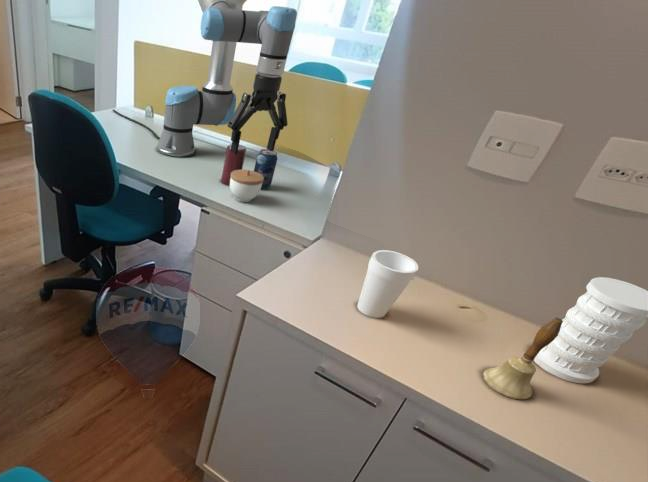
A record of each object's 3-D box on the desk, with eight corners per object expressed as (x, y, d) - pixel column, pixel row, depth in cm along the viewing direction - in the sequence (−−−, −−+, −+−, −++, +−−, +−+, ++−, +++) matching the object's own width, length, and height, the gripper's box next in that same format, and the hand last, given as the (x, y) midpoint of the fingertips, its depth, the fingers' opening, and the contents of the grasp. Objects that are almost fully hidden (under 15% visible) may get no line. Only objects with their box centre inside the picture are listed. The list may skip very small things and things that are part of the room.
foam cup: (345, 296, 107) (366, 248, 99) (383, 299, 107) (407, 251, 99) (358, 320, 100) (382, 271, 92) (398, 323, 100) (426, 274, 92)
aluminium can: (217, 179, 160) (223, 144, 152) (233, 178, 163) (240, 143, 155) (226, 186, 156) (233, 150, 148) (242, 185, 158) (250, 149, 150)
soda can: (255, 190, 155) (264, 155, 147) (247, 183, 160) (254, 148, 152) (273, 190, 157) (282, 155, 149) (264, 182, 162) (272, 148, 154)
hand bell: (487, 391, 85) (540, 327, 75) (479, 364, 91) (527, 301, 81) (536, 405, 83) (597, 341, 73) (524, 376, 89) (579, 313, 79)
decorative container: (609, 383, 89) (685, 312, 78) (558, 383, 88) (627, 312, 77) (564, 345, 98) (626, 276, 87) (516, 345, 97) (573, 275, 85)
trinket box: (258, 207, 144) (265, 178, 138) (225, 202, 145) (231, 173, 139) (258, 194, 152) (265, 167, 146) (227, 189, 154) (232, 162, 148)
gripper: (238, 77, 119) (224, 158, 133) (312, 77, 127) (291, 152, 141) (224, 71, 124) (211, 149, 138) (296, 71, 132) (277, 144, 146)
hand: (252, 151), depth 139 cm, fingers open, 13 cm apart
